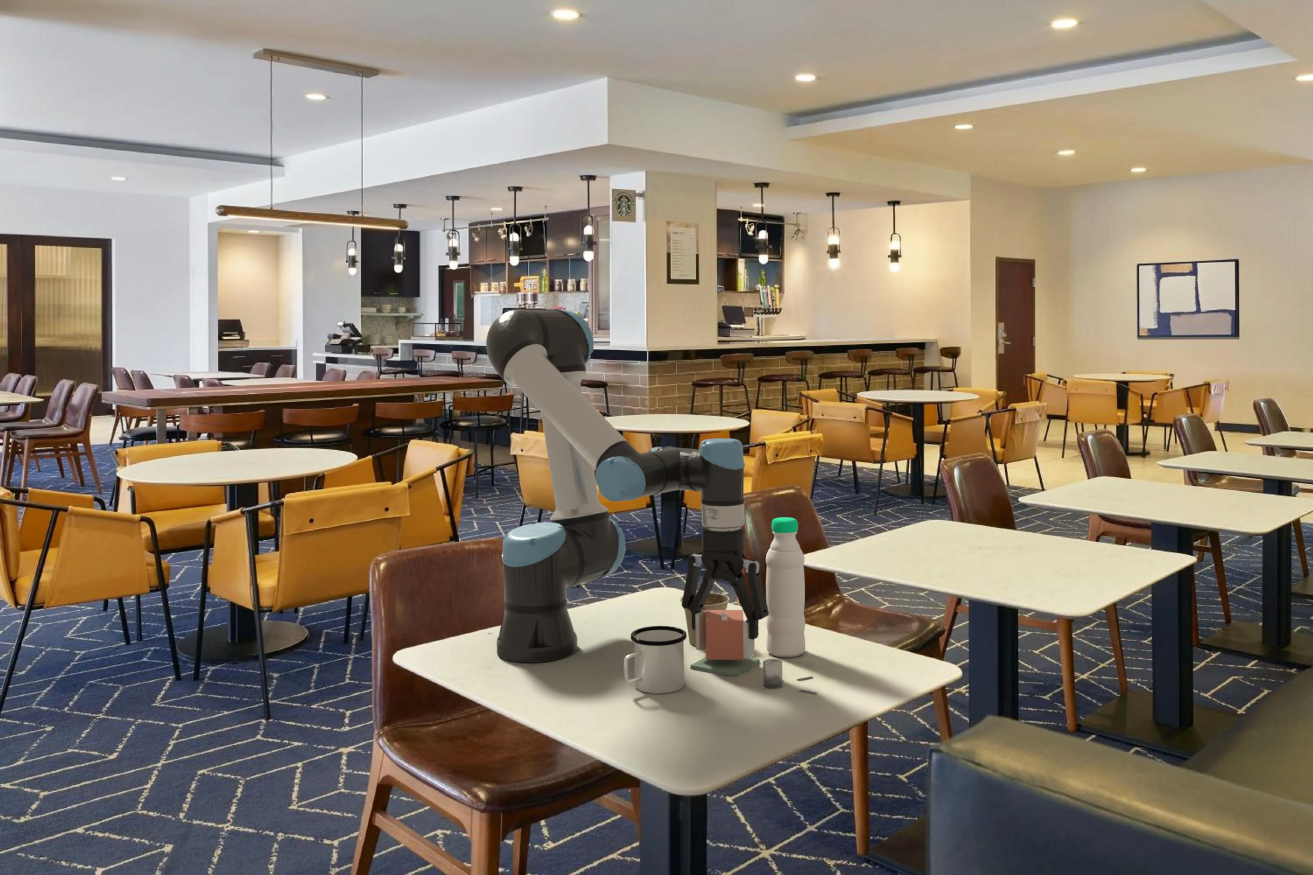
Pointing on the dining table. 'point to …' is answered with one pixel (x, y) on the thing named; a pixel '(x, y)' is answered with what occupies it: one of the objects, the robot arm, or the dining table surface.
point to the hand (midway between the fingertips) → (724, 651)
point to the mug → (657, 659)
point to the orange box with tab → (724, 634)
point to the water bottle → (785, 591)
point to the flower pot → (712, 603)
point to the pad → (725, 666)
